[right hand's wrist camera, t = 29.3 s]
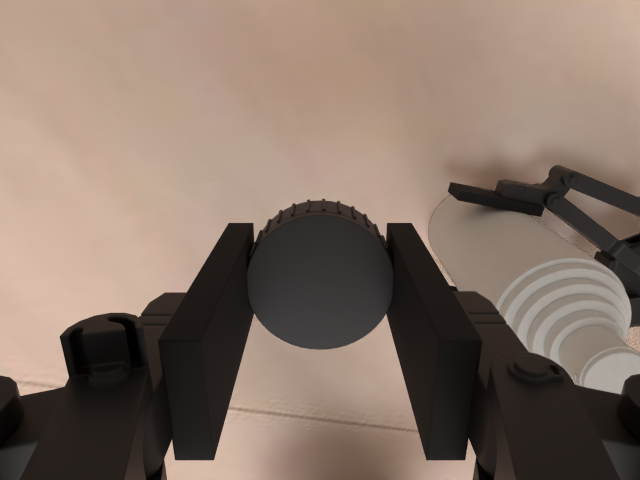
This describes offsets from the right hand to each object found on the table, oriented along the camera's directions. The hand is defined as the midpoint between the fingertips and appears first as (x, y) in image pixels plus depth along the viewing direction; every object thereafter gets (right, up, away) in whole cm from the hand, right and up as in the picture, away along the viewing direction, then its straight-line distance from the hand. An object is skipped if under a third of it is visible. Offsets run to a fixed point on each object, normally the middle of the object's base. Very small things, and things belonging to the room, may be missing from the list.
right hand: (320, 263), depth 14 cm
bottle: (+14, +2, +28) cm, 31 cm away
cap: (0, 0, -1) cm, 1 cm away
